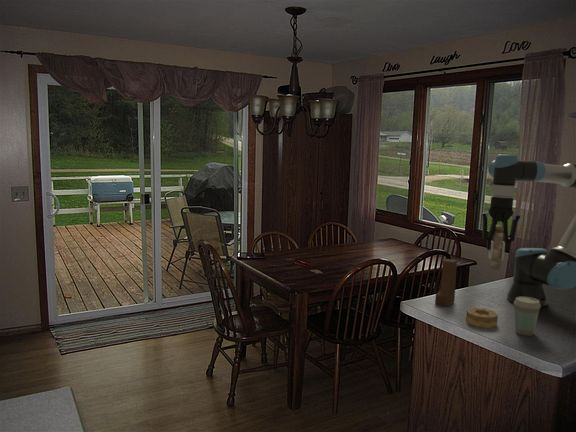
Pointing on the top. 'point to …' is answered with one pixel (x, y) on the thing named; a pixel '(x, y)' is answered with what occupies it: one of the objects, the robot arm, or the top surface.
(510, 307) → the top surface
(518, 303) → the coffee cup
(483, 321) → the tan faceted ring
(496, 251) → the wooden dowel
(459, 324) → the top surface
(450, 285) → the wooden block
